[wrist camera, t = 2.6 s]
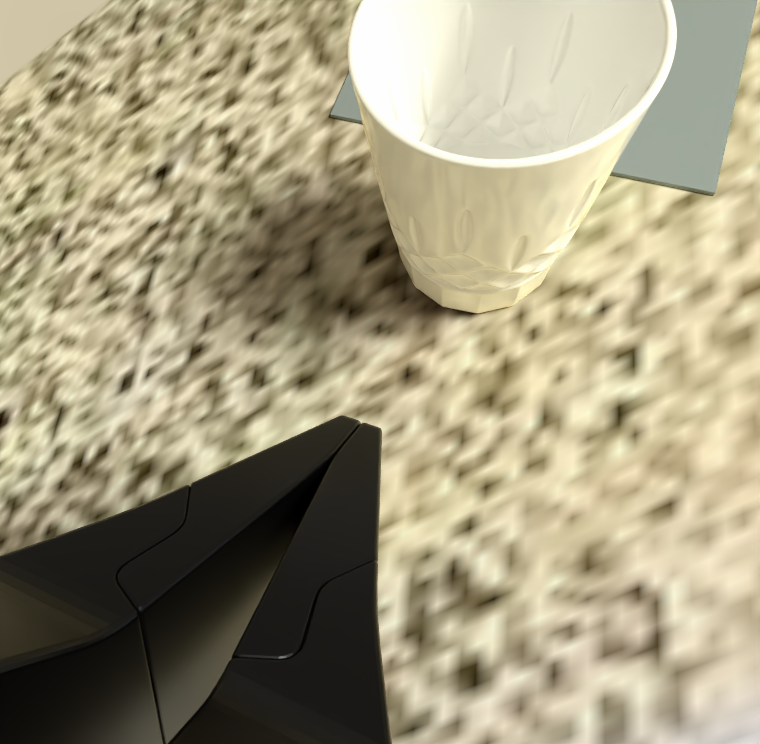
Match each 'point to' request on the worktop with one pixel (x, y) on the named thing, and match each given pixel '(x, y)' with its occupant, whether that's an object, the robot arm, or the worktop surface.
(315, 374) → the worktop surface
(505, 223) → the white cup
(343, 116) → the mat
